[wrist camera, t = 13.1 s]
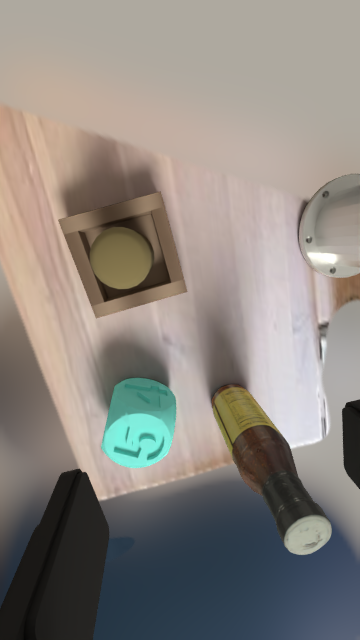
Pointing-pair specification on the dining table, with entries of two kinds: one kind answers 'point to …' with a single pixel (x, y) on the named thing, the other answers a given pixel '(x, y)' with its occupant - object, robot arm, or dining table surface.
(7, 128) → the dining table surface
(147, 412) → the decorative dice
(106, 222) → the shaker holder
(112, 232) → the cork
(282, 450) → the sauce bottle
